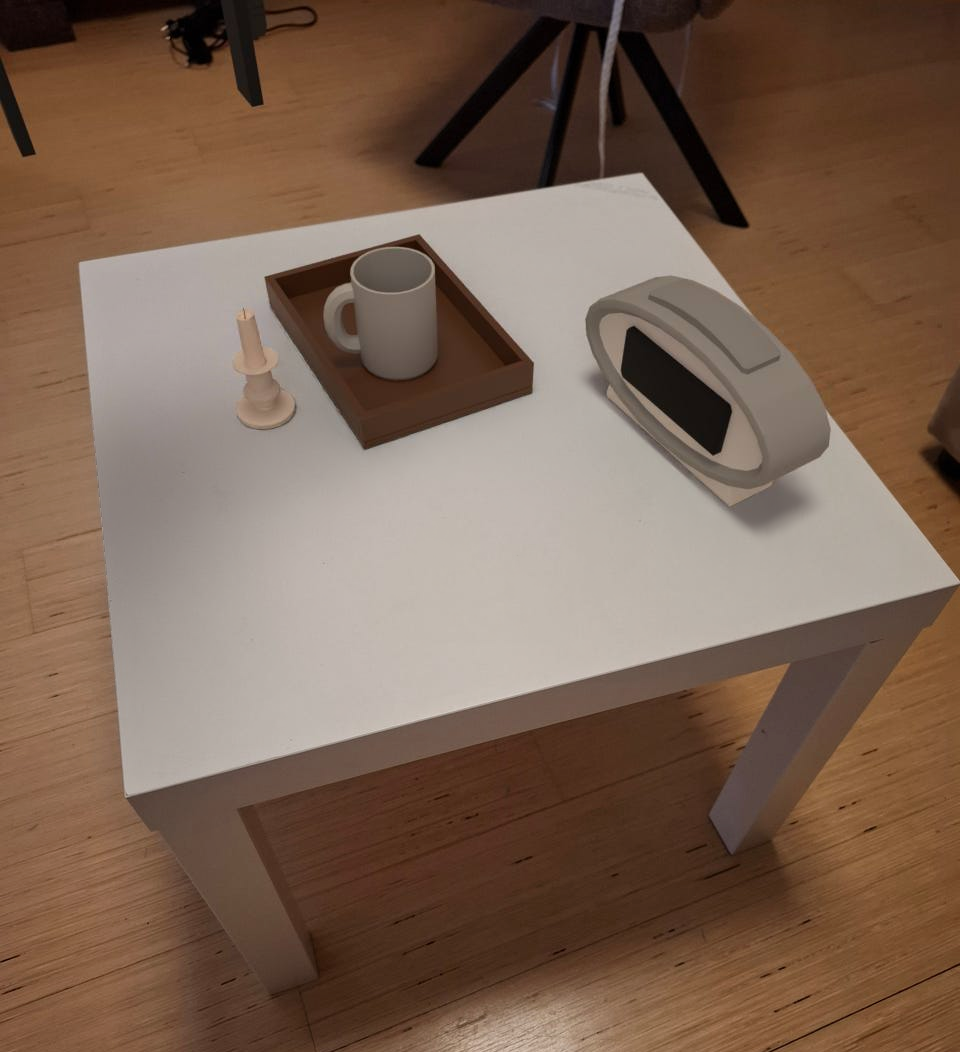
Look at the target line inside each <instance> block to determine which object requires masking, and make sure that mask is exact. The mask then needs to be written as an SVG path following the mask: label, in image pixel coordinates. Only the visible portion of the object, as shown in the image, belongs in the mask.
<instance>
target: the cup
mask: <svg viewBox="0 0 960 1052" xmlns="http://www.w3.org/2000/svg"><path fill="white" fill-rule="evenodd" d="M350 275H351V283H347V284H343V285H341V286H339V287H336V288H335V289H334V290H333V292H332V293H331V294H330V295H329V296H328V298H327V301H326V303H325V306H324V316H323V318H324V324H325V329H326V331H327V334H328V336H329V338H330V339H331V341H332V342H333V343H334V345H335V346H337V347H338V348H339V349H341V350H343V351H344V352H348V353H353V354H354V353H360V356H361V360H362V363H363V365H364V366H365V367H366V368H367V369H368V370H369V371H370V372H371V373H372V374H374V375H376V376H377V377H380V378H383V379H387V380H394V381H398V380H408V379H413V378H416V377H419V376H421V375H423V374H424V373H426V372H427V371H429V370H430V368H431V367H432V366H433V365H434V363H435V362H436V359H437V357H438V339H437V314H436V289H435V266H434V264H433V262H432V260H431V259H430V258H429V257H428V256H427V255H425V254H423V253H421V252H419V251H417V250H414V249H410V248H404V247H385V248H379V249H375V250H372V251H369V252H367V253H365V254H363V255H362V256H360V257H359V258H358V259H357V260H355V261H354V263H353V265H352V267H351V272H350ZM353 302H354V309H355V318H356V326H357V335H350V334H347V333H346V331H345V329H344V326H343V321H342V310H343V307H344V305H346V304H348V303H353Z"/></svg>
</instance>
